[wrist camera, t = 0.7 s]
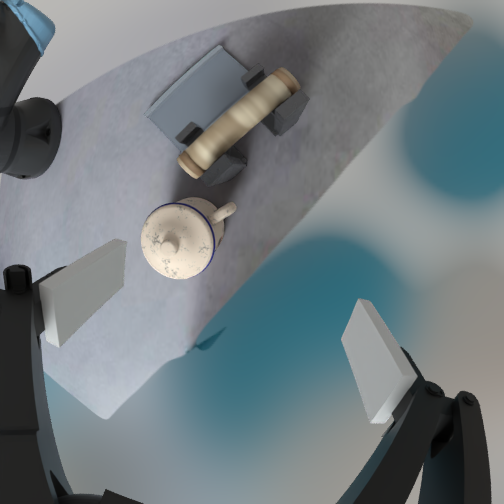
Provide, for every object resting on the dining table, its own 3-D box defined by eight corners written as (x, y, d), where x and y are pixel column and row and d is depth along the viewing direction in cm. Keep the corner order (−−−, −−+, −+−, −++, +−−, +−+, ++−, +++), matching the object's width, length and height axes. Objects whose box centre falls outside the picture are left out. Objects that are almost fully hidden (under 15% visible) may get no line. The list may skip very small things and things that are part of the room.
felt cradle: (147, 115, 36) (143, 114, 35) (221, 48, 33) (219, 44, 32) (187, 157, 38) (183, 156, 37) (264, 87, 35) (264, 84, 33)
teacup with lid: (186, 267, 43) (159, 302, 31) (154, 216, 41) (115, 234, 30) (256, 228, 40) (250, 252, 29) (222, 171, 38) (203, 174, 27)
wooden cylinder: (199, 176, 30) (195, 181, 27) (179, 156, 29) (173, 159, 26) (296, 90, 27) (303, 87, 24) (277, 69, 26) (282, 64, 23)
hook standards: (196, 149, 38) (158, 141, 24) (266, 86, 34) (263, 47, 21) (227, 182, 39) (204, 190, 25) (299, 120, 36) (313, 95, 22)
